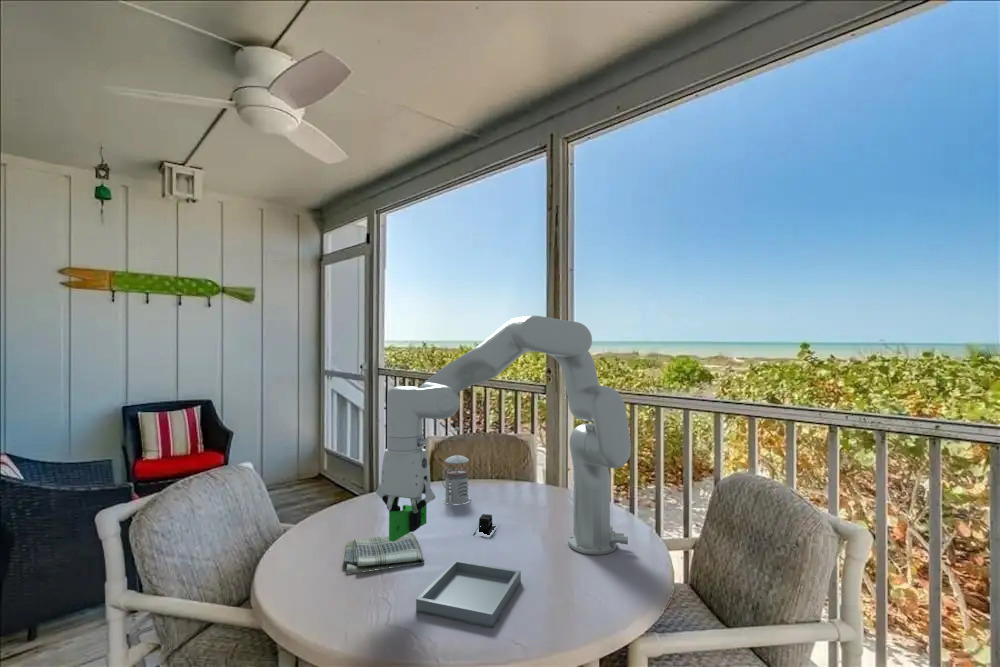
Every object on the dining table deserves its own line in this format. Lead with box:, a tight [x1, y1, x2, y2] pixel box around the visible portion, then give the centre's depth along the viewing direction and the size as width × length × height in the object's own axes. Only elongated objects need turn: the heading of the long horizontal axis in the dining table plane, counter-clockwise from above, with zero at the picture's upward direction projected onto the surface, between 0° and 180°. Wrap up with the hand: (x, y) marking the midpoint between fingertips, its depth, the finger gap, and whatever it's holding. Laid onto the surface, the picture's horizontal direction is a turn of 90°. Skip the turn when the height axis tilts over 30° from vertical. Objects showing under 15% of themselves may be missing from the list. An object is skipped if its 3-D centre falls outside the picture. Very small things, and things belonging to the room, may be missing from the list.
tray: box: [415, 559, 522, 629], centre depth 97 cm, size 16×18×2 cm
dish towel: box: [343, 532, 425, 575], centre depth 117 cm, size 19×18×3 cm
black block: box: [478, 513, 496, 535], centre depth 132 cm, size 12×7×5 cm, turn 167°
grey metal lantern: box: [442, 426, 471, 504], centre depth 158 cm, size 10×12×25 cm
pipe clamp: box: [388, 504, 427, 542], centre depth 100 cm, size 11×4×5 cm, turn 152°
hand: (405, 527), depth 101 cm, fingers closed on pipe clamp, 4 cm apart
